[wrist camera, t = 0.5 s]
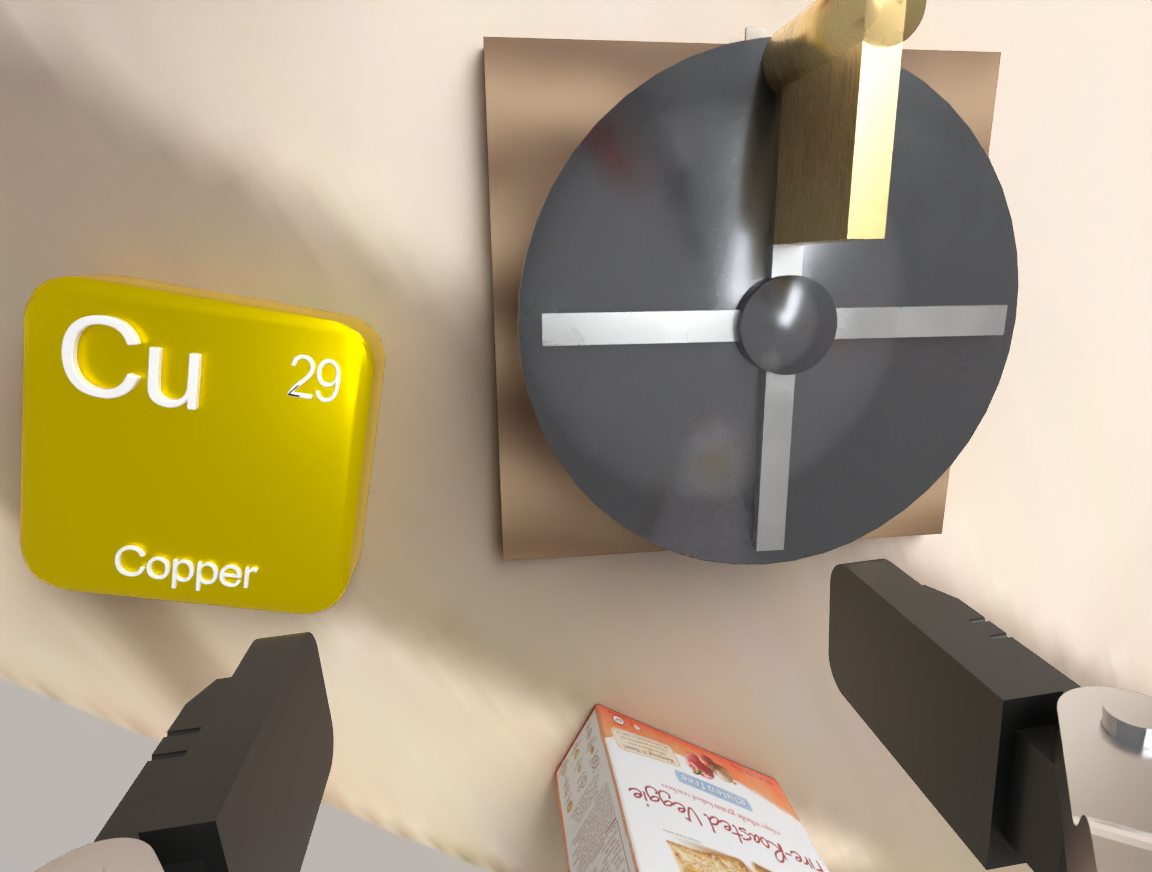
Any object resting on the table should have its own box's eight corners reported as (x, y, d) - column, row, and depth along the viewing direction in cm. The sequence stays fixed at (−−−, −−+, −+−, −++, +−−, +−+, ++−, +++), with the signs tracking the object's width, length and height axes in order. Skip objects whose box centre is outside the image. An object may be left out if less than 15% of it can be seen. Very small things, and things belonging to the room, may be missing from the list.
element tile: (68, 551, 37) (9, 592, 32) (77, 267, 34) (13, 266, 29) (357, 583, 39) (341, 625, 35) (391, 321, 36) (378, 329, 31)
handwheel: (508, 26, 29) (516, -67, 21) (1034, 42, 32) (1217, -33, 24) (524, 569, 34) (536, 658, 26) (967, 541, 37) (1097, 614, 29)
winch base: (482, 30, 33) (482, -8, 28) (982, 46, 36) (1053, 14, 32) (503, 561, 39) (505, 598, 35) (924, 535, 43) (977, 566, 38)
